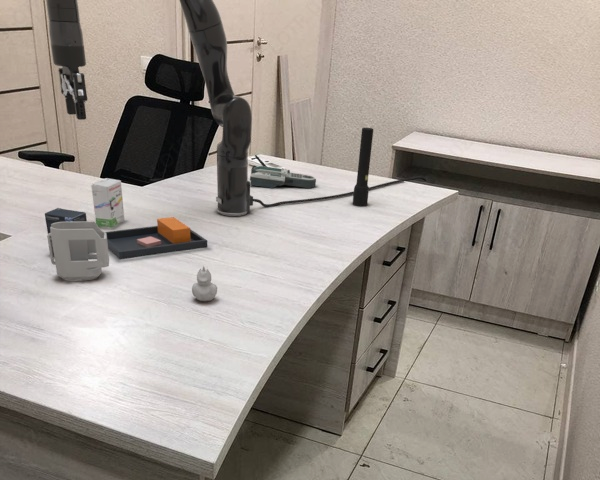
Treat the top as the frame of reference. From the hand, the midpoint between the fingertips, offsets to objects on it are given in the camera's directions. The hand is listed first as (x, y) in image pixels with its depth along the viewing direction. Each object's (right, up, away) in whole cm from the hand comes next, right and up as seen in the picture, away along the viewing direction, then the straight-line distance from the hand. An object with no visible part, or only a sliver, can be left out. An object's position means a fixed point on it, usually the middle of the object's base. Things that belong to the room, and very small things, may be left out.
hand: (76, 116), depth 158 cm
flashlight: (+77, -5, +54) cm, 94 cm away
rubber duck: (+36, -50, -21) cm, 65 cm away
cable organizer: (+7, -44, -14) cm, 47 cm away
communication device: (+51, +7, +71) cm, 87 cm away
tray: (+18, -31, +7) cm, 36 cm away
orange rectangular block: (+23, -29, +9) cm, 38 cm away
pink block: (+17, -31, +6) cm, 36 cm away
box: (0, -36, -3) cm, 36 cm away
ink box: (+3, -22, +20) cm, 30 cm away
